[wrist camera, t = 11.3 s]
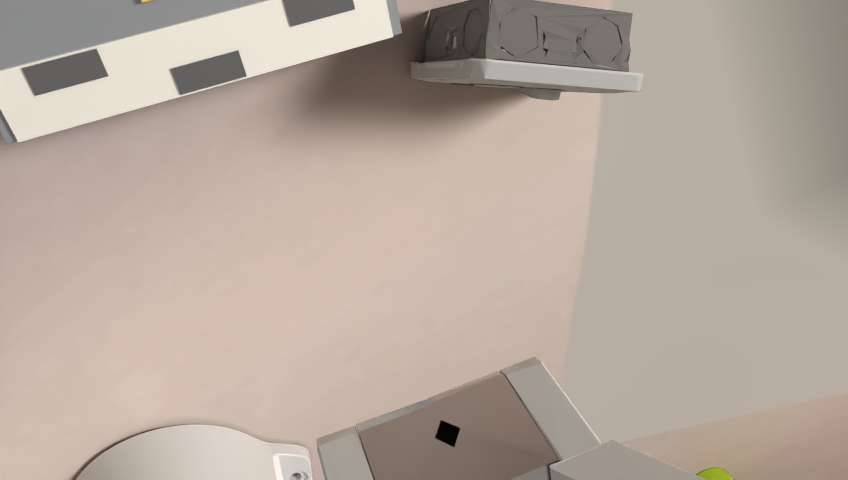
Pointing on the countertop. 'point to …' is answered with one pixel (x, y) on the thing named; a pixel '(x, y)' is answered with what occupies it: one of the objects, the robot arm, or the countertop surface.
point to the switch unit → (159, 51)
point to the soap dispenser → (715, 474)
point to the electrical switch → (529, 48)
